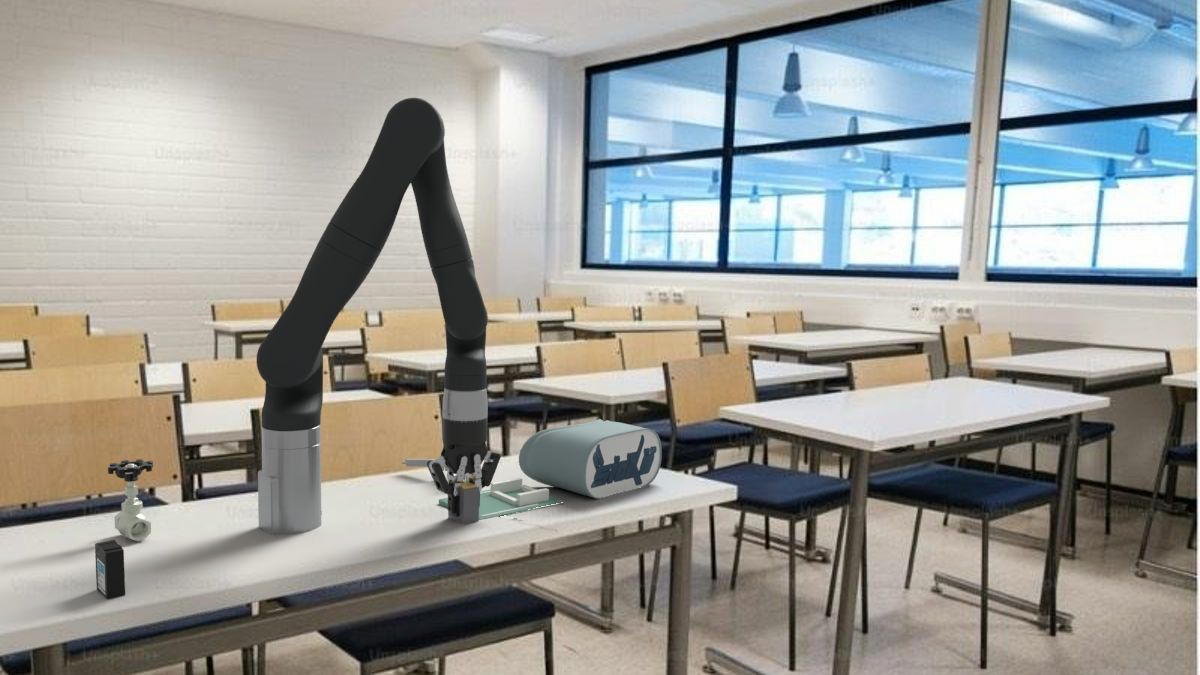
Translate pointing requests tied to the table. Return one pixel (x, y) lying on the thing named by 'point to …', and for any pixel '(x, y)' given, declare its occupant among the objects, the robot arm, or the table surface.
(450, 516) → the switch
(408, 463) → the caliper
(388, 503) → the table surface
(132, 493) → the valve
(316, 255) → the robot arm
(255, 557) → the table surface
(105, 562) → the ink cartridge
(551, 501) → the board
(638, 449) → the pencil case
